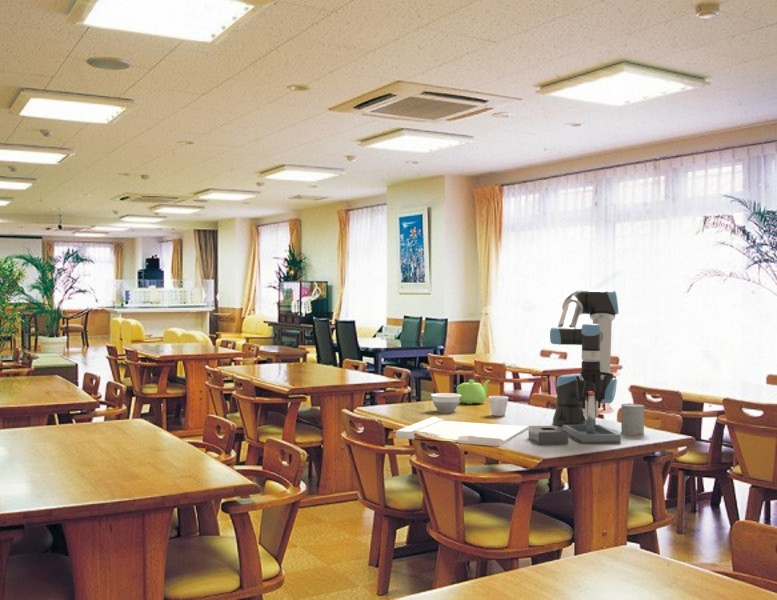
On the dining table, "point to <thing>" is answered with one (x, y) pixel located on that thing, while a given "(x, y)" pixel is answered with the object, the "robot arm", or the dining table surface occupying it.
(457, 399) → the bowl
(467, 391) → the teapot
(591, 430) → the lynch pin
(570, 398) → the robot arm
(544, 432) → the block
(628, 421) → the grey cylinder
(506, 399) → the cup
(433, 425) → the white flat slab
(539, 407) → the dining table surface
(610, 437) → the slate tray
